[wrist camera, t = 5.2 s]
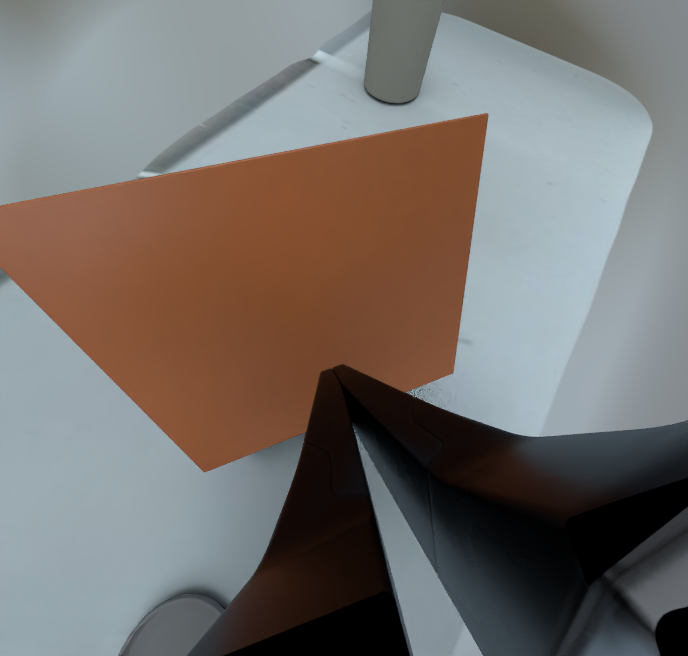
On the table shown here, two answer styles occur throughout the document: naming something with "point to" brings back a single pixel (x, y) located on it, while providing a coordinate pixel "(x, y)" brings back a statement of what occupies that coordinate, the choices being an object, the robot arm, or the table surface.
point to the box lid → (260, 278)
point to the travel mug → (400, 47)
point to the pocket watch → (173, 627)
